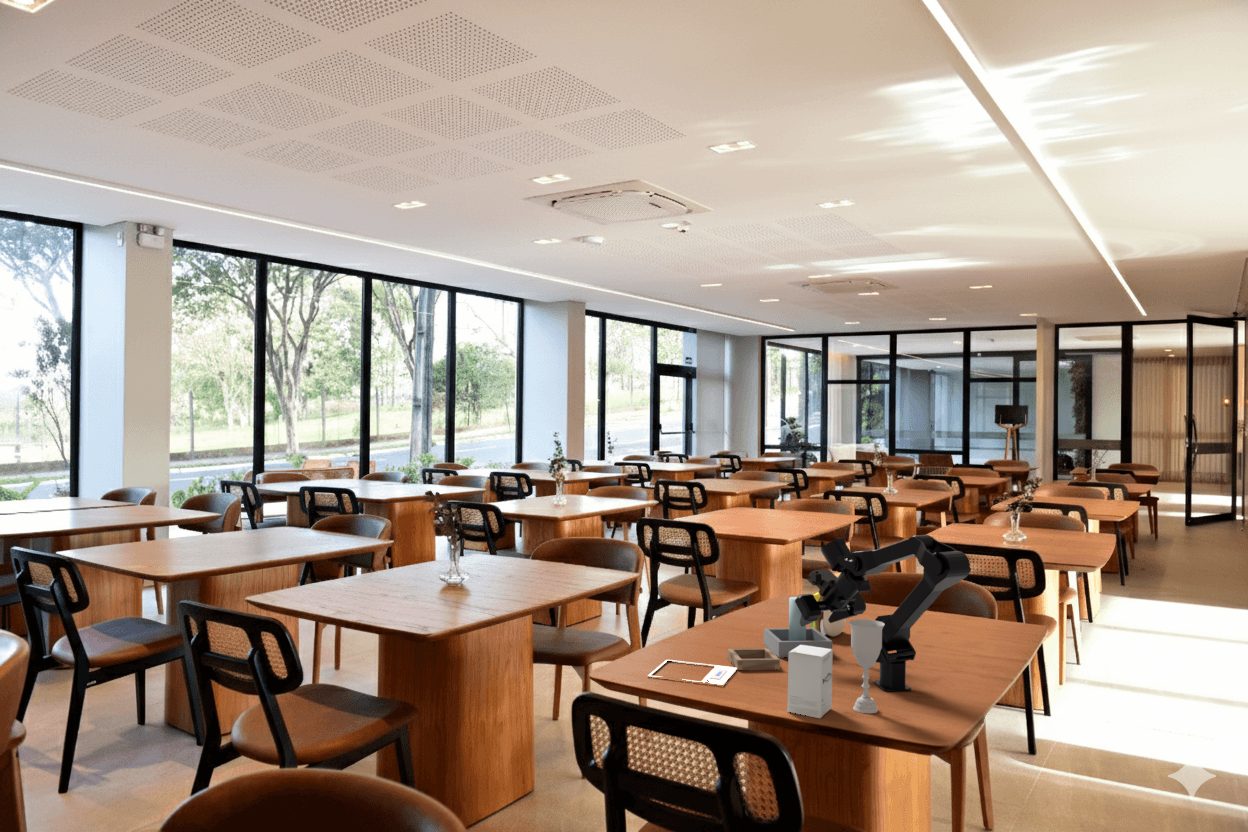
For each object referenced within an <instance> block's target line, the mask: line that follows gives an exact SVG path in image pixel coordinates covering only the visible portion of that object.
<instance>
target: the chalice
mask: <svg viewBox="0 0 1248 832" xmlns="http://www.w3.org/2000/svg"><path fill="white" fill-rule="evenodd" d="M848 624H849V626H850V646H851V650H852V653H853V655H854V658H855V659H856V661H857V664H858V666H859V667H861V668H863V673H862V676H861V678H862V680H863V682H862V684H861V687H862V690H863V691H862V692H863V693H862V695H861V696H858V697H857V698H856V701H855V702H854V706H853V707H852V709H853V711H856V712H858V713H862V714H876V713H878V712H879V709H878V707H877V704H876V703H875V700H874V698H873V697H871V696H870V695H869V689H870V688H871V685H870V684H869V680H870V678H871V677H870V675H869V669H871V668H873V667H874V666H875V664H876V663H877V662H876V660H877V658H878V656H879V654H880V651H881V648H882V629H883V627H884V625H885V624H884V623H882V622H880V621H875V619H867V618H866V619H865V618H864V619H862V618H861V619H860V618H858V619H852V620H851V619H850V620H849V621H848Z"/></svg>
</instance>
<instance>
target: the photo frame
mask: <svg viewBox="0 0 1248 832" xmlns="http://www.w3.org/2000/svg"><path fill="white" fill-rule="evenodd" d="M667 661H672V662H678V663H686V664H695V665H696V664H697V665H708V666H714V668H712V669H711V670H710V671H709V672H708V673H707V674H706V675H705V676H704V677H703V679H702V680H693V679H684V678H683V679H682V678H681V679H682V680H686V681H692V682H703V683H705V682H708V681H709V682H708V683H710V684H717V685H724V684H725V683H726V682H727V680H728V679H729V678H730V677H731V676H732V675H733V674H734V673H735V672H736V670H737V667H734V666H727V665H717V664H711V663H710V664H707V663H701V662H691V661H683V660H676V659H675V660H674V659H665V660H664V661H663V662H662V663H661V664H659V665H658V666H657V667H656V668H655V669H653V670H652V671H651V672H650V673H649V674H648V675H647V676H649V677H662V676H659V675H653V674H654V673H656V671H658V670H659V669H660V668H661V667H663V666H664V664H666V663H667ZM672 662H671V663H672ZM686 664H685V665H686ZM736 673H737V672H736ZM736 673H735V674H736ZM735 674H734V675H735ZM734 675H733V676H734ZM733 676H732V677H733ZM732 677H731V678H732ZM707 680H708V681H707ZM727 683H728V682H727ZM727 683H726V684H727Z"/></svg>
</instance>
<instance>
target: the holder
mask: <svg viewBox="0 0 1248 832" xmlns="http://www.w3.org/2000/svg"><path fill="white" fill-rule="evenodd" d="M726 650H727V654H726V655H727V658H728V659H729V660H730V661H731V662H732V664H733V665H734V666H735V667H737V670H749V671H780V670H781V667H780V665H781V660H780V659H781V658H778V657H777V656H776V655H775V654H774V653H773V652H772V651H771V650H770V649H769V648H768V647H753V648H752V647H751V648H749V647H746V648H742V647H741V648H740V647H739V648H727V649H726ZM728 659H727V660H728ZM729 660H728V661H729ZM730 661H729V662H730ZM731 662H730V663H731ZM732 664H731V665H732ZM733 665H732V666H733ZM734 666H733V667H734ZM774 669H775V670H774ZM776 669H778V670H776Z"/></svg>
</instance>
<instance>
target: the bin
mask: <svg viewBox="0 0 1248 832" xmlns="http://www.w3.org/2000/svg"><path fill="white" fill-rule="evenodd" d="M763 645H764V646H765V647H766V648H768V649H769V650H770V651H771V652H773V653H774V654H775V655H777V656H778V657H779V659H785V658H784V657H787V658H786V659H789V652H790V651H791V650H793V649H794V648H796V647H798V646H799V645H807V646H814V647H821V648H828V649H832V650H833V640H831V639H830V637H829V638H828V637H827V635H823V634H822V633H821V632H819V631H818V630H816V629H815V628H812V627H806V641H789V627H786V628H782V627H781V628H774V627H773V628H763Z"/></svg>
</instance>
